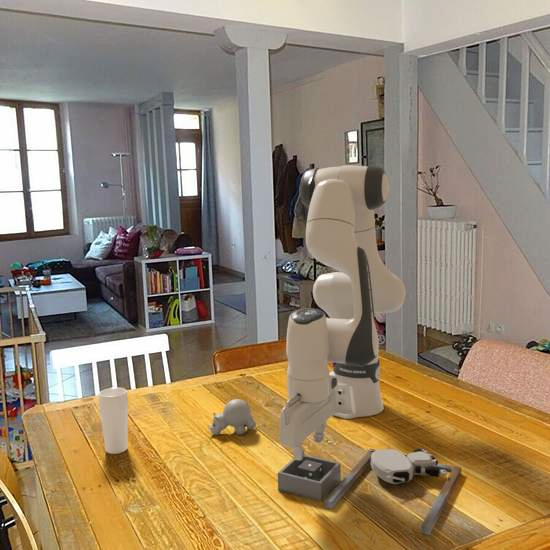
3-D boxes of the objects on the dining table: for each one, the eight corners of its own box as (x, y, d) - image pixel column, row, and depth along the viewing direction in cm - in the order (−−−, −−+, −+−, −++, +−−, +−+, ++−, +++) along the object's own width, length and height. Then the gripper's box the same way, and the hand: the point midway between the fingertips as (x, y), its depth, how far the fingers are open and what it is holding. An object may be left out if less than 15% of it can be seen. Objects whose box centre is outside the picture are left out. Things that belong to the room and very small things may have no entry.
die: (297, 484, 128) (297, 467, 127) (306, 476, 131) (306, 459, 130) (314, 489, 126) (314, 471, 125) (322, 481, 129) (322, 463, 128)
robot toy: (424, 460, 139) (362, 465, 136) (425, 441, 138) (363, 446, 135) (449, 487, 127) (383, 494, 124) (451, 468, 126) (384, 474, 123)
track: (324, 507, 120) (324, 500, 119) (372, 452, 143) (372, 446, 143) (429, 535, 109) (429, 527, 109) (462, 471, 133) (462, 464, 133)
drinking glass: (136, 446, 150) (132, 388, 147) (120, 457, 143) (116, 398, 141) (112, 442, 152) (108, 386, 150) (96, 454, 146) (92, 395, 143)
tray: (278, 490, 127) (277, 472, 126) (299, 470, 135) (299, 453, 134) (321, 501, 122) (320, 483, 121) (340, 480, 130) (340, 462, 130)
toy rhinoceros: (214, 438, 160) (201, 410, 158) (255, 417, 161) (242, 390, 159) (216, 449, 153) (202, 420, 151) (259, 428, 154) (245, 399, 152)
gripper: (298, 406, 115) (300, 474, 117) (341, 375, 132) (341, 434, 134) (270, 401, 118) (272, 467, 120) (315, 371, 135) (316, 429, 137)
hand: (309, 449), depth 127 cm, fingers open, 8 cm apart
